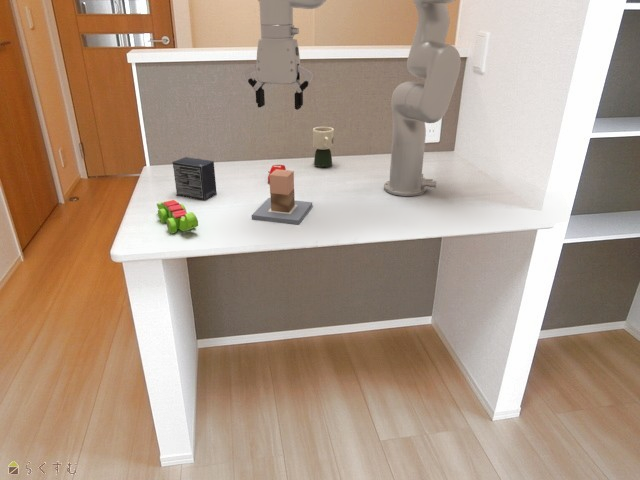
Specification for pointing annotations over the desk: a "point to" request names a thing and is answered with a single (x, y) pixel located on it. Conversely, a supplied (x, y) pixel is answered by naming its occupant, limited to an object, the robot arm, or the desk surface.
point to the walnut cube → (282, 202)
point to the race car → (274, 167)
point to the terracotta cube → (281, 181)
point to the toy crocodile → (176, 216)
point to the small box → (195, 178)
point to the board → (282, 213)
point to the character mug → (323, 145)
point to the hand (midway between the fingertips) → (279, 107)
